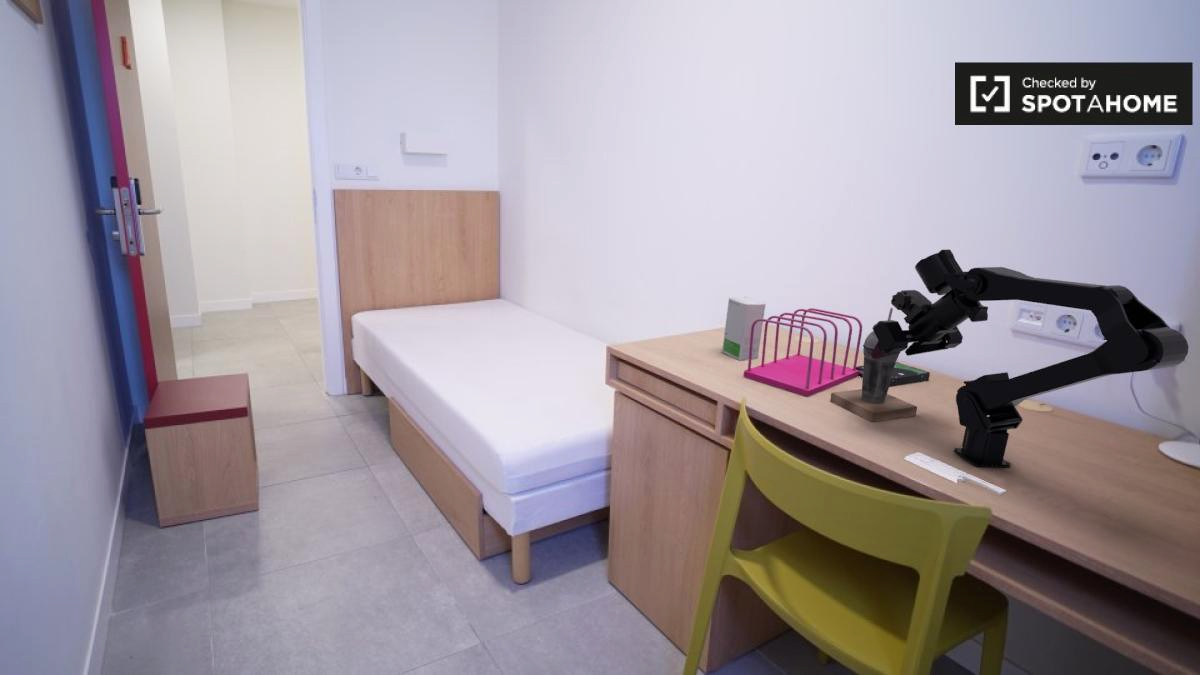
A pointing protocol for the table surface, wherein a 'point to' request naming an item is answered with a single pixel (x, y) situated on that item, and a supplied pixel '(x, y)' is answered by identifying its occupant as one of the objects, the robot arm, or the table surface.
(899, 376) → the disk drive
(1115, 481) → the table surface
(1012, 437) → the table surface
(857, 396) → the walnut plinth
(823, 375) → the file sorter
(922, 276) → the robot arm
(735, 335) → the skincare box
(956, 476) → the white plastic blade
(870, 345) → the beverage cup
